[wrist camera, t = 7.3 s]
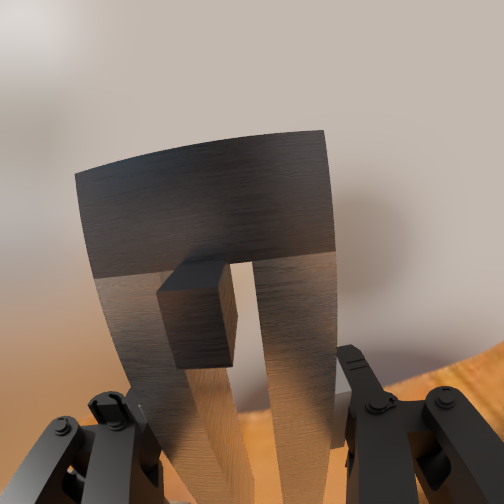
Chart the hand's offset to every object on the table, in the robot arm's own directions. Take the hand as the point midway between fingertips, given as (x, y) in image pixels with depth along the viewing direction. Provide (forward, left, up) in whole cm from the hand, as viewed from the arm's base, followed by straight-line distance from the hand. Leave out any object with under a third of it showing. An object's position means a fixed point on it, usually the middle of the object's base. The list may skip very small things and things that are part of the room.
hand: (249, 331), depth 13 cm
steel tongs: (0, +5, -9) cm, 10 cm away
